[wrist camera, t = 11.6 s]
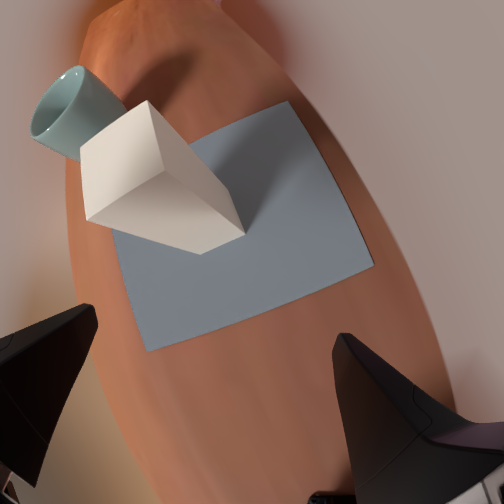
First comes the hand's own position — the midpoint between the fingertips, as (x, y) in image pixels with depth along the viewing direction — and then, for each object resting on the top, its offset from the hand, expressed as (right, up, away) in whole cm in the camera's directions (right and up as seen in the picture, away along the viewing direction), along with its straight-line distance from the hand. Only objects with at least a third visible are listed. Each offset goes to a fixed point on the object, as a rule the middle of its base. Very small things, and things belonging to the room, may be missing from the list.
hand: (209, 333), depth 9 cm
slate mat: (-2, +5, +13) cm, 14 cm away
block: (-2, +5, +13) cm, 14 cm away
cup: (-14, +15, +17) cm, 26 cm away
